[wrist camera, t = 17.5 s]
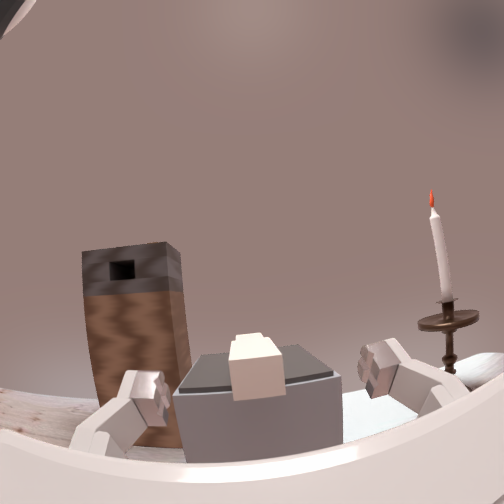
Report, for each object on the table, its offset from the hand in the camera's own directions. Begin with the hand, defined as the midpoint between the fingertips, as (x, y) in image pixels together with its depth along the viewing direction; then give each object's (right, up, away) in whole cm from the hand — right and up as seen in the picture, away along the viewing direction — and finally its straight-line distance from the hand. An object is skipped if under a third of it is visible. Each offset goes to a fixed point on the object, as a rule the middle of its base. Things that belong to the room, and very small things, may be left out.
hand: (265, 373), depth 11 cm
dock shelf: (+1, -22, +16) cm, 27 cm away
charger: (0, -7, +15) cm, 16 cm away
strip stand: (-16, -26, +28) cm, 41 cm away
